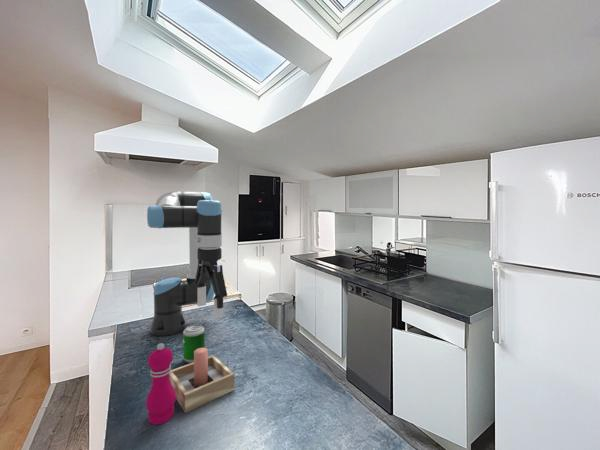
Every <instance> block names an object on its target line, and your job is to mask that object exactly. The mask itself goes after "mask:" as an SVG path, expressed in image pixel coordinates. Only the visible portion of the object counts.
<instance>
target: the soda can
mask: <svg viewBox="0 0 600 450" xmlns="http://www.w3.org/2000/svg"><path fill="white" fill-rule="evenodd" d="M205 332H206V331H205V327H204V326H203V325H202V324H198V323H197V324H191V325H188V326H186V327H185V329H184V330H182V341H183V343H182V344H183V350H182V352H183V353H182V354H183V357H182V358H183V360H184V361H185V362H186V363H188V364H190V363H193V362H194V351H195V350H196V349H198V348H206V347H205V345H206V343H205V341H206V340H205V339H206V333H205Z"/></svg>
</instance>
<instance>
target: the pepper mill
mask: <svg viewBox="0 0 600 450" xmlns="http://www.w3.org/2000/svg"><path fill="white" fill-rule="evenodd" d="M173 359H174V355H173V351H172V350H171V348H169V347H168V348H167V347H165V344H164V343H162V342H161V343H158V344H157V345H156V349H154V350H153V351H152V352H151V353H150V355H148V358H147V365H148V367H149V368H150V370H149V371H150V373H149V375H150V376H151V378H152V381H151V388H150V390H149V392H148V395H147V397H146V400H145V408H146V410H147V411H148V413H147V417H148V419H147V420H148V423H149V424H151V425H160V424H164V423H166V422H168V421H170V420H171V418H173V416H174V414H175V405H174V404H175V402H176V401H177V400H176V393H175V390H174V388H173V386H172V384H171V382H170V379H169V373H170V371H171V370H172V362H173Z"/></svg>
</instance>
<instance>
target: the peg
mask: <svg viewBox="0 0 600 450" xmlns="http://www.w3.org/2000/svg"><path fill="white" fill-rule="evenodd" d="M208 357H209V352H208V347H207V348H206V347H205V348H198V349H196V350H195V351H194V385H193V387H194V388H195V389H196V388H198V387H200V386H203V385H205V384H207V383H209V382H208Z"/></svg>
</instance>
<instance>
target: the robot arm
mask: <svg viewBox="0 0 600 450" xmlns="http://www.w3.org/2000/svg"><path fill="white" fill-rule="evenodd" d="M146 210H147V214H146V219H147V220H146V221H147V226H148V227H149V228H151V229H167V228H168V229H173V228H175V229H176V228H177V229H178V228H180V229H185V228H188V233H189V234H188V235H189V239H188V240H189V241H188V242H189V245H188V246H189V273H188V274H187V275H186V276H185V277H186V279H185V280H183V279H182V278H181V277H178V276H177V277H175V276H174V277H169V278H164V279H162V280H159V281H157V282H155V284H154V287H153V295H154V296H153V310H154V311H153V312H154V313H153V318H152V321H151V324H150V328H149V332H150V334H151V335H153V336H158V337H164V336H170V335H175V334H178V333H180V332H183V331H184V330H185V329H186V327H187V322H186V319H185V316H184V312H183V311H182V310H183V307H182V306H189V305H190V306H191V305H197V307H198V308H199V307H202V306H206V305H207V303H210V302H211V301H213V318H214V320H217V319H220V318H224V298H225V297H226V298H227V297H228V292H227V286H226V281H225V278H224V277H225V276H224V272H223V265H222V264H219V265H218V261H219V260H221V259H222V248H221V247H222V243H223V240H222V239H223V236H222V235H223V234H222V213H223V210H222V202H221V201H220V200H214V199H213V196H212V194H211V193H209V192H204V191H179V190H178V191H170V192H166V193H164V194H162V195H161V196H159V197H158V198H157V200H156V203H155V205H149V206H148V207H147V209H146Z"/></svg>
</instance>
